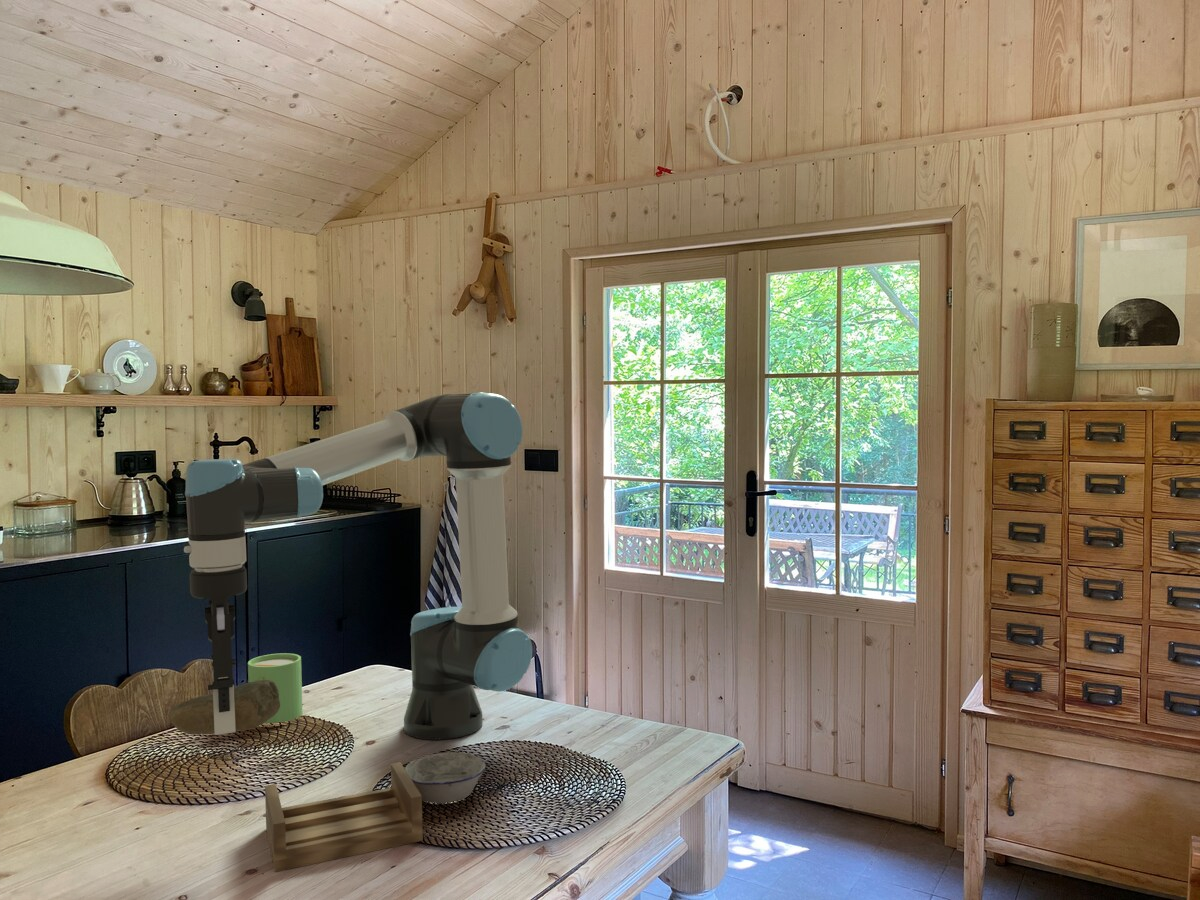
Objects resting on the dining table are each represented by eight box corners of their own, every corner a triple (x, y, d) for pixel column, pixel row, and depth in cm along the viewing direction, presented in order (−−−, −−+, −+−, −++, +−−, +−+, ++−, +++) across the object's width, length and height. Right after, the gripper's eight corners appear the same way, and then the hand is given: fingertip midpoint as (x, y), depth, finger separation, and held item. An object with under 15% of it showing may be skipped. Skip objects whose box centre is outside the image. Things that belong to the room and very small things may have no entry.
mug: (263, 709, 188) (262, 652, 187) (311, 711, 186) (309, 653, 186) (231, 730, 175) (229, 670, 175) (281, 732, 174) (279, 671, 173)
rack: (401, 802, 142) (400, 762, 141) (422, 840, 129) (421, 795, 129) (266, 828, 133) (264, 785, 133) (274, 872, 120) (273, 824, 120)
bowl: (431, 820, 135) (430, 789, 135) (389, 794, 145) (388, 765, 145) (501, 795, 144) (501, 765, 144) (458, 772, 154) (457, 744, 153)
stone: (291, 720, 129) (252, 665, 126) (200, 779, 126) (158, 724, 123) (290, 697, 137) (254, 645, 135) (204, 751, 134) (165, 699, 131)
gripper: (190, 558, 137) (196, 704, 138) (188, 582, 118) (195, 752, 119) (243, 554, 140) (248, 696, 141) (249, 577, 121) (256, 742, 122)
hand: (224, 721), depth 130 cm, fingers closed on stone, 9 cm apart
